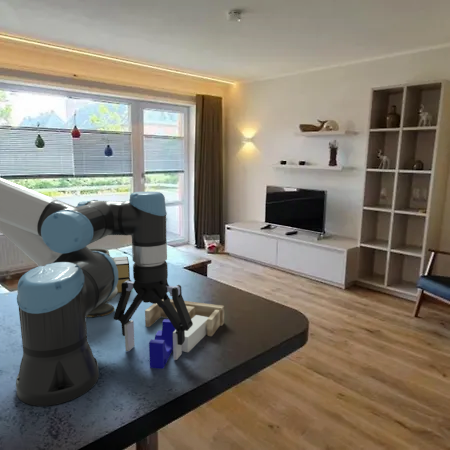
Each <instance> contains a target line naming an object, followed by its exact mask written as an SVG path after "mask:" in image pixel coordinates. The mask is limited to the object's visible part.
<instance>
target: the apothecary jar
mask: <svg viewBox="0 0 450 450" xmlns="http://www.w3.org/2000/svg"><path fill="white" fill-rule="evenodd" d="M89 249H90V250H91V251H99V252H103V253H105V254H107V255H108V256H110V257H111V258H112V259H113V258H114V257H112V256H111V255H110V251H109V250H108V249H106V248H89ZM113 261H114V262H115V260H114V259H113ZM115 264H116V262H115ZM117 292H118V289H117V287H116V288H115V290H114V291H113V293H112V294H111V295H110V296H109V297H108V299H107V300H106V301H104V302H102V303H101V304H100V305H98V306H97V307H96V308H95V309H94V310H93V311H92V312H91V313H89V314H88V315H87V316H86V318H96V317H105V316H106V315H109V314H111V313H113V312H115V307H114V305H113V304H111V303H109V302H111V301H112V300H113V299H115V298H116V296H117V294H118V293H117Z"/></svg>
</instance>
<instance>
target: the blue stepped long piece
mask: <svg viewBox="0 0 450 450" xmlns="http://www.w3.org/2000/svg"><path fill="white" fill-rule="evenodd" d="M174 331H175V328H174V326H173V325H172V323H171V322H170V320H169V319H168V318H164V319H163V320H162V328H161V330H157V332H156V333H155V335H154V339H150V341H149V343H148V351H149V353H148V354H149V368H150V369H161V370H162V369H165V366H166V364H167V363H168V360H169V358H170V356H171V353H172V352H173V332H174Z"/></svg>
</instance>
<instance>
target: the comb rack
mask: <svg viewBox="0 0 450 450" xmlns="http://www.w3.org/2000/svg"><path fill="white" fill-rule="evenodd" d="M162 301H164V300H163V299H162ZM170 302H171V304H172V305H173V307H174V308H175V305H174V303H173V299H172V298H170ZM184 302H185V305H186V307H187V310H188V313H189V315H190V318H191V319H192V318H193V317H194V316H195V315H199V316H205V317H209V318H208V319H207V334H206V335H207V336H208V337H213V335H214V334H215V333H216V331H217V330H218V329H219V328H220V326H222V327H223V325H224V324H225V305H223V304H213V303H212V304H211V303H206V302H205V303H204V302H197V301H195V302H194V301H187V300H184ZM175 310H176V308H175ZM176 311H177V310H176ZM144 318H145V319H144V323H145V327H147V328H150V327H151V326H153V324H155V323H156V322H157V321H158V320H159V319H160V318H164V319H168V317H167V316H166V314H165V313H164V311H163V310H162V308H160V307H159V306H158V304H157V303H156V304H153V303H152V304H151V305H150V306H149V307H148V308H146V309H145V310H144Z"/></svg>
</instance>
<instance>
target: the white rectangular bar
mask: <svg viewBox="0 0 450 450" xmlns="http://www.w3.org/2000/svg"><path fill="white" fill-rule="evenodd" d="M208 318H209V317H205V316H199V315H195V316H194V317H193V318H192V319H191V320H192V323H193V325H192V326H191V327H190V329H189V330H188V331H185V341H184V343H183V344H182V345H181V349H182V352H185V353H190V351H192V349H193V348H194V347H195V346H196V345H197V344H198V343H199V342H200V341H201V340H202V339H203V338H204V337H205V336H206V335H207V319H208Z"/></svg>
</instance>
